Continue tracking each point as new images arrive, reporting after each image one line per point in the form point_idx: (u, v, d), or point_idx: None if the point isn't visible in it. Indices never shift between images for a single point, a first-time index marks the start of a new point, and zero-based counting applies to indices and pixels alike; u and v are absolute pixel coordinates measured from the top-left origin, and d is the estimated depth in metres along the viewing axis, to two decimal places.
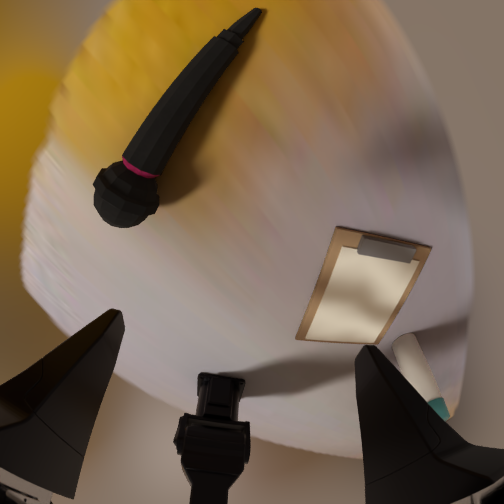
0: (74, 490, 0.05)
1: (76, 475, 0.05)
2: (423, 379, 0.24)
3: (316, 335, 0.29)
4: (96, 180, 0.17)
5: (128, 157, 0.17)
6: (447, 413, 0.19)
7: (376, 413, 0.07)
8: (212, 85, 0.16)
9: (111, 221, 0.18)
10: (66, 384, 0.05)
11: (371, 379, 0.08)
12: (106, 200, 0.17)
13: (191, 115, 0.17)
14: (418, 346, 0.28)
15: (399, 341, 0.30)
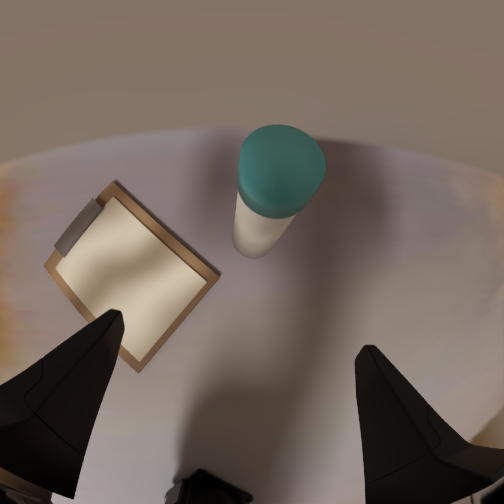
0: (74, 490, 0.05)
1: (76, 475, 0.05)
2: None
3: (140, 347, 0.20)
4: None
5: None
6: None
7: (376, 413, 0.07)
8: None
9: None
10: (66, 384, 0.05)
11: (371, 379, 0.08)
12: None
13: None
14: None
15: (234, 243, 0.23)
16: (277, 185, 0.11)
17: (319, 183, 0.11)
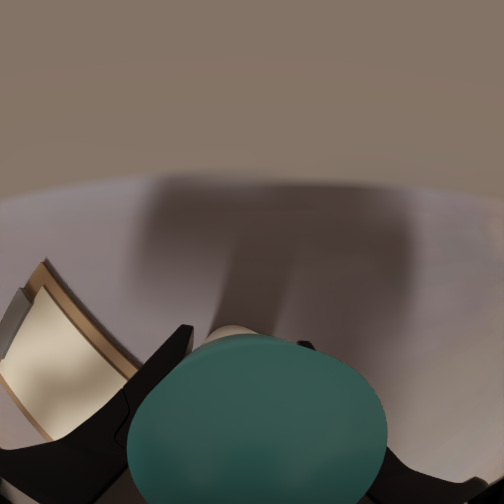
0: None
1: None
2: None
3: None
4: None
5: None
6: None
7: None
8: None
9: None
10: None
11: None
12: None
13: None
14: (213, 332, 0.13)
15: None
16: None
17: (354, 501, 0.03)
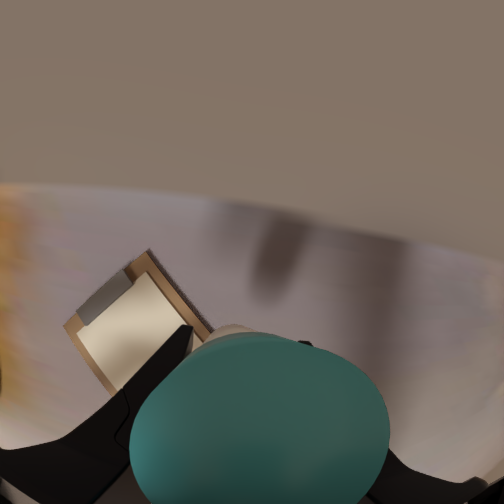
0: None
1: None
2: None
3: None
4: None
5: None
6: None
7: None
8: None
9: None
10: None
11: None
12: None
13: None
14: (214, 332, 0.13)
15: None
16: None
17: (356, 499, 0.03)
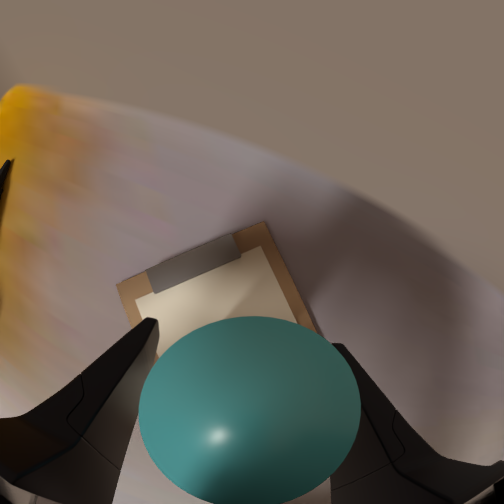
0: None
1: (113, 490, 0.05)
2: None
3: None
4: None
5: None
6: None
7: None
8: None
9: None
10: (110, 401, 0.05)
11: None
12: None
13: None
14: None
15: None
16: (235, 488, 0.03)
17: (335, 466, 0.04)
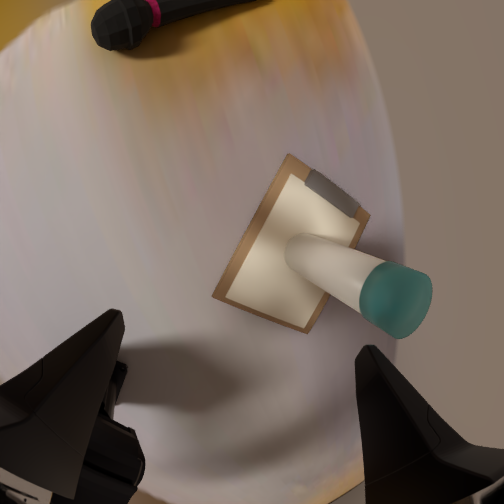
0: (74, 490, 0.05)
1: (76, 475, 0.05)
2: (345, 255, 0.17)
3: (240, 294, 0.24)
4: None
5: None
6: (421, 273, 0.13)
7: (376, 413, 0.07)
8: (234, 0, 0.16)
9: (105, 18, 0.11)
10: (66, 384, 0.05)
11: (371, 379, 0.08)
12: (121, 0, 0.11)
13: (211, 4, 0.16)
14: (322, 238, 0.22)
15: (290, 244, 0.23)
16: (395, 321, 0.12)
17: (405, 336, 0.13)
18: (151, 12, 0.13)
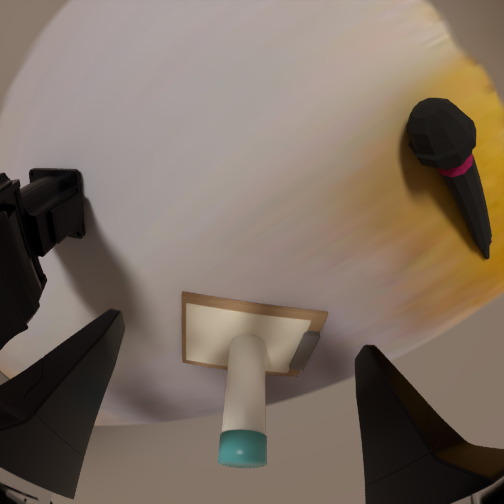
0: (74, 490, 0.05)
1: (76, 475, 0.05)
2: (258, 400, 0.20)
3: (193, 313, 0.25)
4: (474, 128, 0.12)
5: (472, 164, 0.14)
6: (266, 461, 0.17)
7: (376, 413, 0.07)
8: (470, 228, 0.19)
9: (446, 127, 0.12)
10: (66, 384, 0.05)
11: (371, 379, 0.08)
12: (468, 141, 0.12)
13: (464, 213, 0.18)
14: (264, 362, 0.25)
15: (250, 339, 0.26)
16: (229, 460, 0.16)
17: (221, 463, 0.17)
18: (453, 168, 0.15)
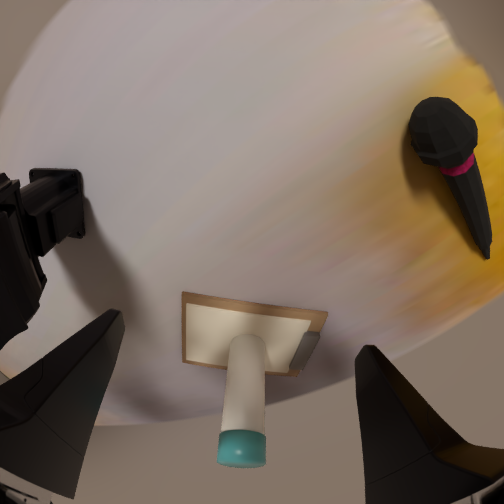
0: (74, 490, 0.05)
1: (76, 475, 0.05)
2: (257, 400, 0.20)
3: (193, 313, 0.25)
4: (476, 127, 0.12)
5: (474, 163, 0.14)
6: (265, 461, 0.17)
7: (376, 413, 0.07)
8: (471, 228, 0.19)
9: (448, 126, 0.12)
10: (66, 384, 0.05)
11: (371, 379, 0.08)
12: (470, 140, 0.12)
13: (465, 212, 0.18)
14: (264, 362, 0.25)
15: (250, 339, 0.26)
16: (228, 459, 0.16)
17: (220, 463, 0.17)
18: (455, 167, 0.14)
